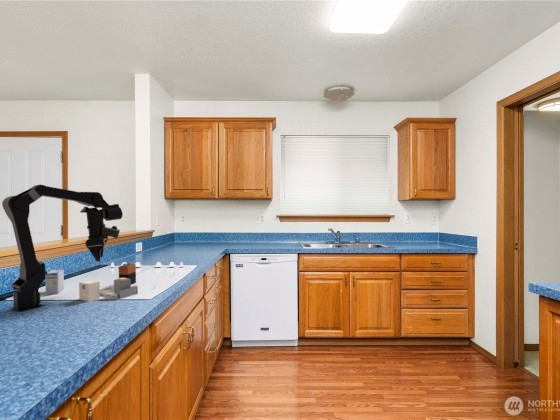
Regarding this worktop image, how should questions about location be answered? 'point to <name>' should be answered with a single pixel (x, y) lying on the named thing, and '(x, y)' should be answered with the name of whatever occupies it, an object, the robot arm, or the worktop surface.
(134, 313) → the worktop surface
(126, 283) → the relay block
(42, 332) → the worktop surface
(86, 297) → the block
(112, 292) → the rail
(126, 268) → the battery
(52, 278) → the medicine box
